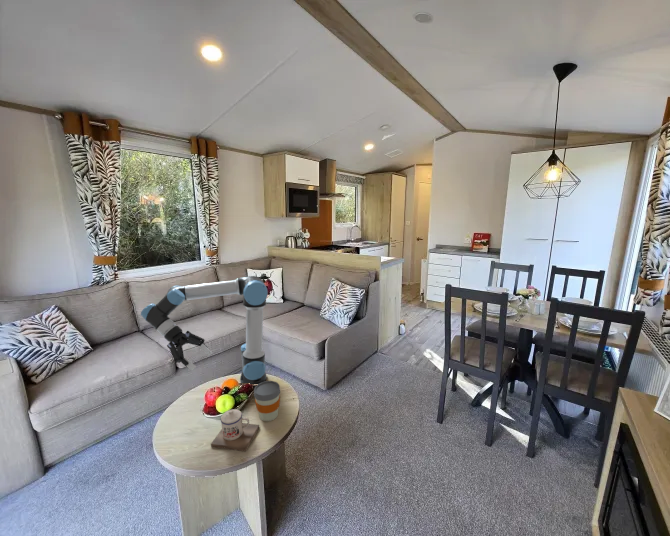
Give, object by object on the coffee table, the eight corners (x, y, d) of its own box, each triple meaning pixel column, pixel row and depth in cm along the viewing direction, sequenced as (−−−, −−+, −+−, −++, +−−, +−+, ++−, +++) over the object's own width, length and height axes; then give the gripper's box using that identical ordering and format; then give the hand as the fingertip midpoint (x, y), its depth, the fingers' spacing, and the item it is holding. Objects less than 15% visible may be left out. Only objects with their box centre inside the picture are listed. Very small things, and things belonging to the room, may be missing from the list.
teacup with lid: (220, 442, 129) (217, 419, 126) (224, 427, 137) (222, 405, 135) (248, 439, 130) (246, 415, 128) (251, 424, 139) (249, 402, 137)
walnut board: (227, 423, 142) (227, 421, 142) (259, 427, 139) (259, 424, 139) (211, 446, 128) (210, 443, 128) (245, 451, 126) (245, 448, 125)
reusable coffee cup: (250, 420, 144) (248, 393, 141) (264, 404, 156) (262, 378, 153) (273, 426, 140) (271, 398, 137) (286, 409, 152) (284, 383, 149)
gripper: (182, 325, 155) (212, 353, 156) (146, 347, 131) (181, 380, 131) (190, 316, 153) (220, 344, 154) (155, 337, 129) (191, 370, 130)
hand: (202, 361), depth 143 cm, fingers open, 13 cm apart
